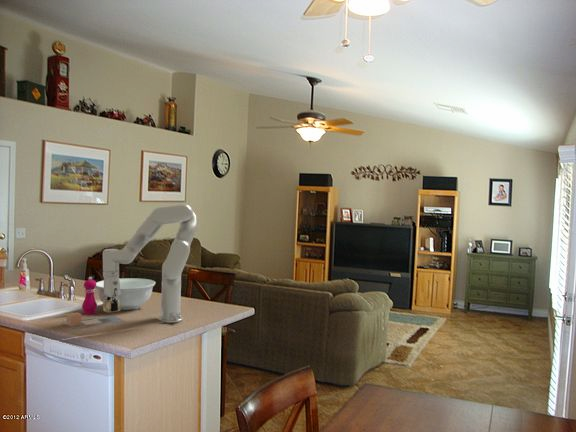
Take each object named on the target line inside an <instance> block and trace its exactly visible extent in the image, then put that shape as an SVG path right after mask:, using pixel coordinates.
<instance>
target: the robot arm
mask: <svg viewBox="0 0 576 432" xmlns="http://www.w3.org/2000/svg"><path fill="white" fill-rule="evenodd" d="M176 223H179V227H178V229H177V233H176V235H175V237H174V240H173V241H172V243H171V246H170V249H169V251H168V254H167V256H166V258H165V261H164V262H163V263H162V266H161V298H160V299H161V303H160V305H161V306H160V308H161V309H160V315H159V317H157V320H159V321H161V322H164V323H166V324H167V323H169V324H170V323H171V324H172V323H178V322H182V321H184V317H183V315H181V301H182V300H181V298H182V296H181V295H182V294H181V292H182V291H181V290H182V273H183V270H184V268H185V266H186V263H187V261H188V259H189V257H190V252H191V245H192V242H193V239H194V237H195V233H196V231H197V227H198V219H197V215H196V213H195V211H194V210H193V209H192V207H191V206H190V205H188V204H186V203H181V204H177V205H170V206H158V207H156V208H155V209H153V211H152V212H151V213H150V214H149V215H148V217H147V218H146V219H145V220H144V221H143V222H142V223H141V225H140V226H139V227H138V228H137V229H136V231H135V233H134V234H133V236H132V238H130V240H129V241H128V242H127V243H126V244H125V246H124V247H123V248H122V249H116V248H105V249H104V250H103V251H102V277H103V281H104V295H105V300H111V301H112V303H111V311H116V312H119V311H118V298H119V296H120V281H119V279H120V264H123V265H129V264H131V263H132V262H133V261H134V260H135V258H136V257H137V256H138V255H139V253H140V252H141V250H143V248H144V247H145V246H146V245H147V244H148V243H149V242H151V241H152V240H153V238H155V236H156V235H157V234H158V232H160V230H161V229H162V228H163V226H164V225H167V224H168V225H169V224H176ZM113 296H115V297H113ZM113 298H114V300H113Z"/></svg>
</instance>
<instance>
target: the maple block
mask: <svg viewBox="0 0 576 432" xmlns="http://www.w3.org/2000/svg"><path fill="white" fill-rule="evenodd" d="M113 300H114V299H113ZM111 303H112V301H111V300H105V301H103V302H102V305H103V308H102V311H103V312H106V313H110V314H111V313H115V312H121V310H120V301H119V300H118V311H111Z"/></svg>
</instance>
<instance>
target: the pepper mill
mask: <svg viewBox="0 0 576 432" xmlns="http://www.w3.org/2000/svg"><path fill="white" fill-rule="evenodd" d="M96 283H97V282H96V280H93V277H92V276H89V277H88V278H87V280H85V281H84V282H83V287H84V288H85V289H84V293H85V298H84V300H83V302H82V304H81V309H82V310H83V311H82V314H83V315H93V314H96V313H97V311H96V310H97V307H98V303H97V301H96V299H95V292H96Z"/></svg>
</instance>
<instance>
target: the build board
mask: <svg viewBox="0 0 576 432" xmlns="http://www.w3.org/2000/svg"><path fill="white" fill-rule="evenodd" d="M122 322H125V319H124V320H123V319H122V318H120V317H118V316H116V315H107V316H100V317H93V318H84V319H81V325H77V326H69V325H67V321H62V323H63V324H64V325H66V326H67V327H69V328H70V329H72V330H73V329H81V328H89V327H94V326H100V325H107V324H115V323H116V324H117V323H122Z"/></svg>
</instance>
